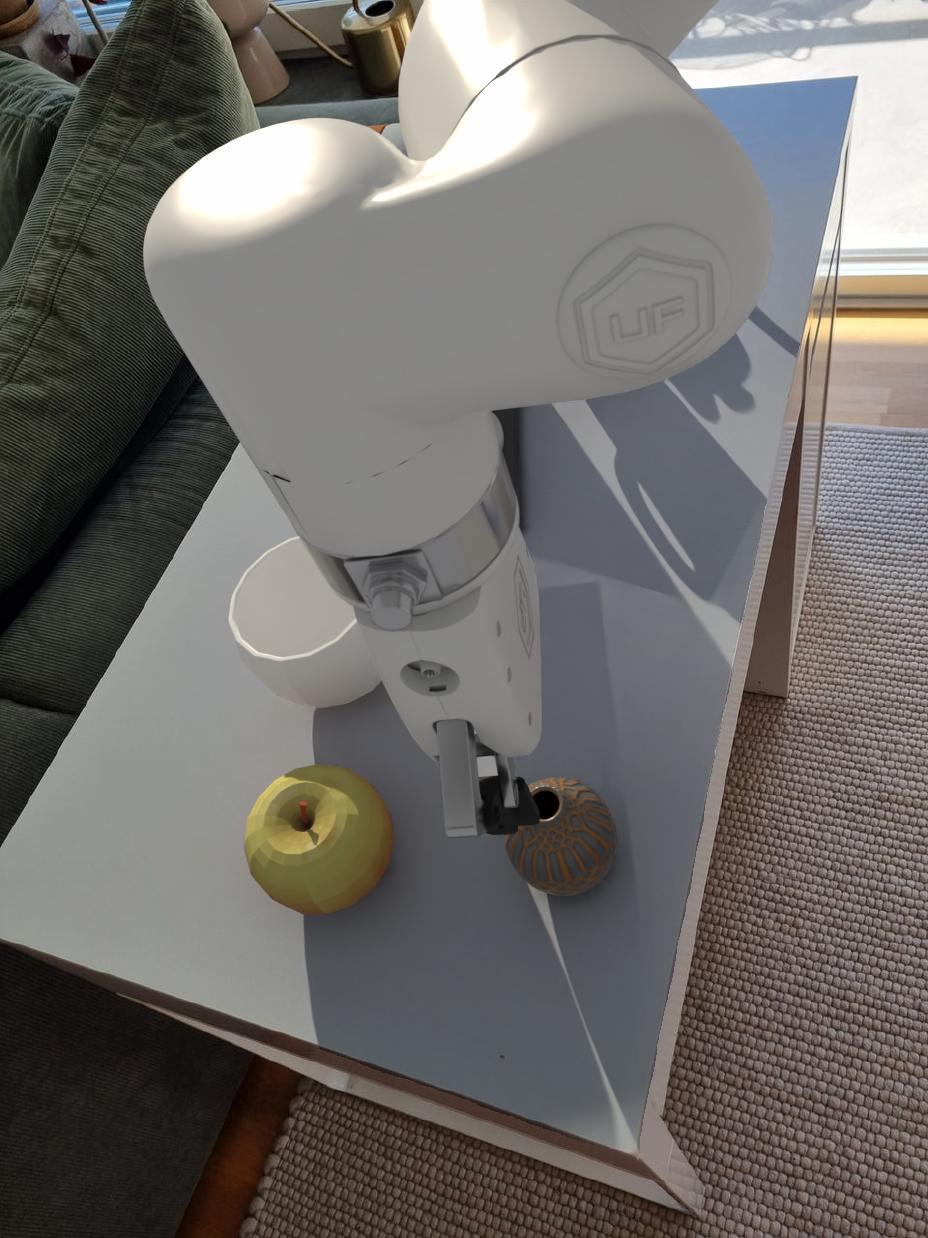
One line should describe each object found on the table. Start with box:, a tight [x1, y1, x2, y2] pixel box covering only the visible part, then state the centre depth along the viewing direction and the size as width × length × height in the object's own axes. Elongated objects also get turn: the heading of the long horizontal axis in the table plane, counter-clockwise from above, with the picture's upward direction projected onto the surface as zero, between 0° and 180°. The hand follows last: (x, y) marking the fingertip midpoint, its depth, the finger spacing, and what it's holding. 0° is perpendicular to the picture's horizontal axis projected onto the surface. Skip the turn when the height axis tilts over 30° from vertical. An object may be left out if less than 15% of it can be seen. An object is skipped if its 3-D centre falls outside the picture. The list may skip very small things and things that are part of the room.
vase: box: [503, 776, 618, 897], centre depth 58 cm, size 7×7×9 cm
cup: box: [227, 535, 382, 709], centre depth 71 cm, size 12×12×10 cm
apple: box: [243, 763, 396, 915], centre depth 62 cm, size 10×10×8 cm
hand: (506, 727), depth 46 cm, fingers open, 9 cm apart
